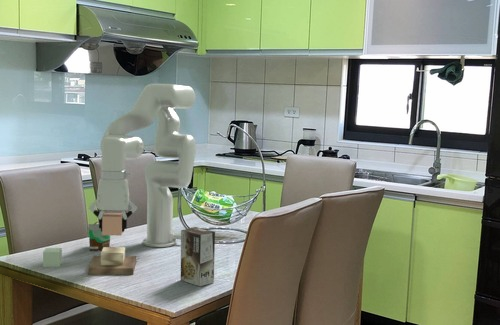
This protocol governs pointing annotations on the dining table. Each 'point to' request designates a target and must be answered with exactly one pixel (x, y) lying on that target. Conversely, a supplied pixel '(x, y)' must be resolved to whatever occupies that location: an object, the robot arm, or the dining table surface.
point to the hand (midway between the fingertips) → (112, 230)
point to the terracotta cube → (112, 224)
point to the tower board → (112, 266)
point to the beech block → (113, 256)
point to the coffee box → (197, 256)
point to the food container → (97, 238)
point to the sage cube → (52, 257)
